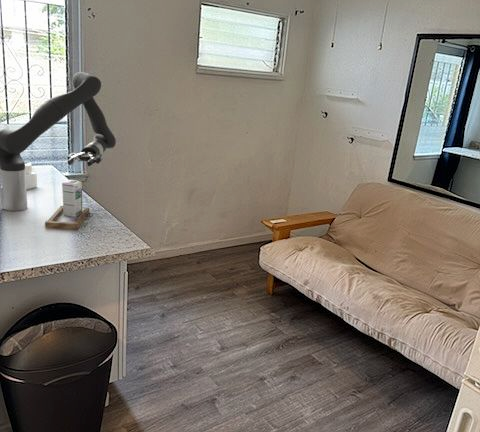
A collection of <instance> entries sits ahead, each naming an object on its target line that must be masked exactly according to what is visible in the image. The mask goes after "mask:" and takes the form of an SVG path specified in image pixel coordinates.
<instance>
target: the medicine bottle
mask: <svg viewBox="0 0 480 432" xmlns="http://www.w3.org/2000/svg"><path fill="white" fill-rule="evenodd" d="M24 163H25V174H26V191H27V190H30V189H33V188H34V189H35V188H37V187H38V180H37V179H38V178H37V173H36V172H33V166H32V163H31V162H25V161H24Z"/></svg>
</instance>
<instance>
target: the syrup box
mask: <svg viewBox="0 0 480 432" xmlns="http://www.w3.org/2000/svg"><path fill="white" fill-rule="evenodd" d="M82 183H83V182H82V181H81V180H77V179H69V180H66V181H64V182H62V183H61V189H62V204H63V205H62V206H63V213H62V214H63V215H64V216H66V217H67V216H68V217H72V218H76V217H77V216H78V217H79V216H80V215H81V213H82V212H83V189H82V188H83V186H82V185H83V184H82Z"/></svg>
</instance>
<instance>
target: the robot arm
mask: <svg viewBox="0 0 480 432" xmlns="http://www.w3.org/2000/svg"><path fill="white" fill-rule="evenodd" d="M72 85H73V88H74V89H73V90H71V91H69V92H65V93H63V94H59V95H55V96H54V97H50V98H49V99H48V100H46V101H45V102H43V103H42V104H41V105H39V106H38V107H37V108H36V109H35V111H34V113H33V114H32V116H31V117H30V120H28V122H26V123H25V124H24V125H22V126H21V127H19V128H18V129H15V130H14V129H10V128H3V129H1V130H0V181H1V186H0V207H1V210H5V211H9V212H18V211H24V210H27V208H28V193H27V190H26V174H25V163H24V162H25V161H24V160H23V158H22V156H21V153H23V152H25V151H26V150H28V148H29V147H30V146H31V145H32V144H33V143H34V142H35V141H36V140H37V139H38V138H39V137H40V136H41V135H43V134H44V133H46V132H47V131H48V130H49V129H51V128H52V127H53V126H55V125H56V124H58V123H59V122H60V121H61V120H63V119H64V118H65V117H66V116H67V115H69V114H70V113H71V112H73V111H74V110H75V109H77V107H79V106H81V105H83V107H84V109H85V111H86V114H87V116H88V119H89V121H90V122H89V123H90V125H91V127H92V130H93V132H94V133H95V135H94V136H93V139H92V141H91V142H89V143H88V144H87V145H85V146H84V147H83V148H82V149H81V151H80V152H79V153H76V152H74V151H73V152H71V153H69V154H68V155H67V157H66V159H67V164H68V166H72V164H74V163H81V162H86V163H87V167H91V166H92V165H95V164H96V165H97V164H100V163H101V162H102V161H103V153H104V152H105V151H106V149H114V148H115V146H116V143H117V141H116V140H117V139H116V137H115V135H114V134H113V132H112V131H111V129H110V128H109V126H108V123H107V120H106V118H105V115H104V112H103V110H102V109H101V108H100V106H99V105H98V103H97V102H96V100H95V98H94V97H95V96H96V95H98V94H99V93H100V90H101V88H102V82H101V80H100V79H99V78H98V76H95V75H92V74H90V73H87V72H84V71H79V72H76V73H75V74H74V76H73V78H72Z"/></svg>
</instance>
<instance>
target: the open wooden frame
mask: <svg viewBox="0 0 480 432" xmlns="http://www.w3.org/2000/svg"><path fill="white" fill-rule="evenodd" d="M82 211H83V212H82V213H81V214H79V215H78V218H77V219H76V221H75V222H70V221H57V220H58V217H59V218H60V216H62V214H64V213H63V205H60V206H59V207H58V208H57V210H56V211H55V212H54V213H53V214H51V216H50V217H49V218H48V219H47V220H45V222H44V225H45V227H44V228H45V229H50V230H51V229H54V230H67V231H69V230H70V231H78V229H79V228H80V227H87V225H88V223H89V222H88V221H84V220H85V219H86V217H87V218H92V217H93V215H94V212H90V207H84V209H82Z"/></svg>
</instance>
